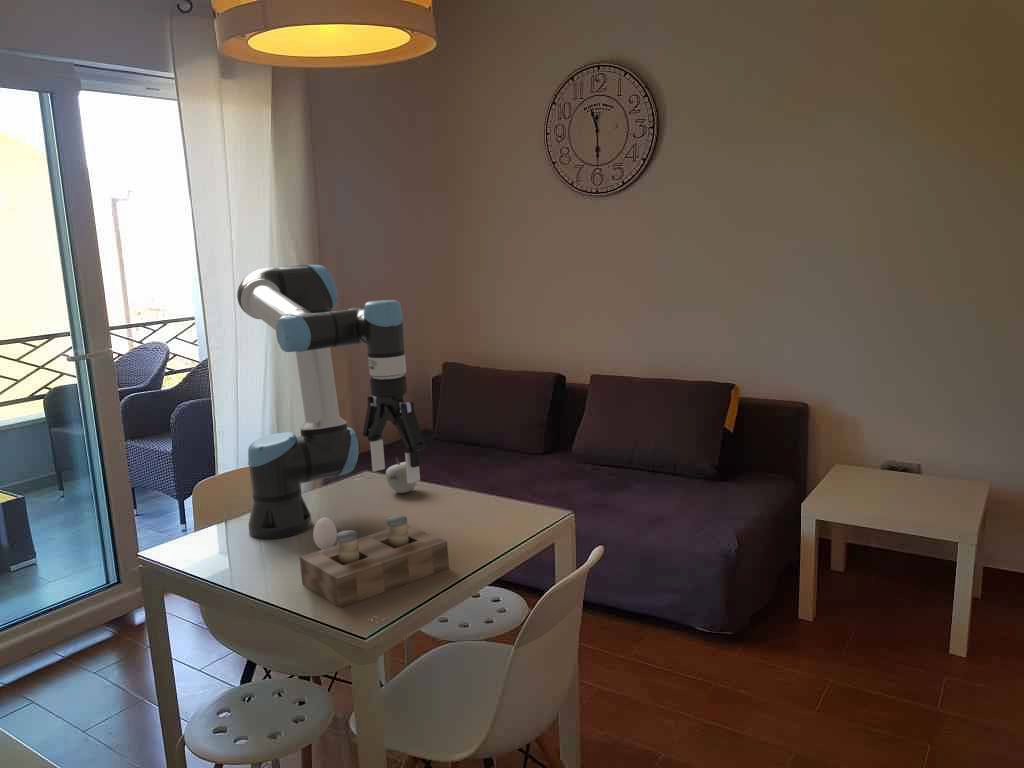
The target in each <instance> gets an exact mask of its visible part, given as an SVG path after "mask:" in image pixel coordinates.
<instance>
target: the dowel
mask: <svg viewBox="0 0 1024 768" xmlns="http://www.w3.org/2000/svg"><path fill="white" fill-rule="evenodd" d="M358 537H359V536H358V531H356V530H353V529H352V530H351V529H349V530H342V531H339V532H337V534H336V538H337V540H336V545H337V549H338V559H339V563H340V564H344V565H346V564H349V563H352V562H355V561H358V560H360V558H359V547H358V539H359V538H358Z"/></svg>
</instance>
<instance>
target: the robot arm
mask: <svg viewBox="0 0 1024 768" xmlns="http://www.w3.org/2000/svg"><path fill="white" fill-rule="evenodd" d="M236 292H237V293H236V295H237V296H236V297H237V304H238V305H239V307H240V309H241V310H242V311H243V312H244V313H245V314H246V315H248V316H249V317H250V318H253V319H255V320H261V321H263V322H264V323H266V325H268V326H269V327H271V328H272V329H273V330H274V331H275V334H276V340H277V343H278V345H279V347H280V349H281V350H282V351H283V352H286V353H295V356H296V357H295V358H296V364H297V371H298V379H299V386H300V391H301V401H302V406H303V413H304V423H303V424H302V425H301V427H300V435H299V436H296V434H295V433H294V432H291V431H284V432H276V433H271V434H269V435H265V436H262V437H260V438H257V439H256V440H254V441H253V442H252V443H251V444H250V445H249V446H248V450H247V454H248V455H247V457H248V458H247V459H248V462H247V465H248V468H249V474H250V475H249V477H250V483H251V484H250V485H251V492H252V493H251V494H252V506H251V511H250V515H249V521H248V532H249V535H250V536H251V537H254V538H257V539H265V540H266V539H269V540H270V539H280V538H286V537H291V536H295V535H298V534H300V533H303V532H305V531H307V530H309V528H311V527H312V525H313V524H312V523H313V522H312V515H311V513H310V510H309V507H307V503H306V501H305V499H304V497H303V495H302V486H301V485H302V484H305V483H310V482H314V481H315V482H316V481H319V480H323V479H327V478H333V477H334V478H338V477H339V476H342V475H347V474H350V473H351V472H352V471H353V470H354V469H355V468H356V464H357V462H358V459H359V442H358V441H359V440H358V437H357V435H356V434H357V433H356V432H355V430H354V429H353V428H351V427H348V424H347V423H348V422H347V421H346V420H345V419H344V418H342V417H341V416H340V411H339V410H340V409H339V404H338V403H339V402H338V395H337V389H336V382H335V374H334V368H333V359H332V354H331V352H332V351H331V348H338V347H346V346H355V345H362V344H363V345H364V344H365V345H366V348H367V357H368V363H367V365H368V370H369V375H370V376H371V378H370V379H369V384H370V394H371V396H370V395H369V396H367V409H366V413H365V419H364V426H363V429H362V430H363V431H362V435H363V437H364V438H365V437H367V440H368V441H369V448H370V455H371V468H372V472H377V471H382V470H385V469H386V464H385V463H386V462H385V453H384V451H385V450H384V439H383V438H384V437H383V436H382V434H383V431H384V430H385V426H386V424H387V423H388V421H389V422H391V424H392V425H393V426H395V428H396V430H397V431H398V433H399V436H400V437H401V439H402V442H403V445H404V446H405V448H406V450H405V451H404V457H405V462H406V473H407V483H413V482H416V481H417V482H420V481H421V473H420V465H421V464H420V454H419V453H420V450H424V449H426V442H425V439H424V437H423V435H422V431H421V427H420V424H419V421H418V419H417V415H416V411H415V403H414V402H413V401H407V402H405V401H404V395H406V394H407V393H408V382H407V381H408V380H407V376H406V375H405V374H406V372H407V362H406V353H405V340H404V325H403V324H404V323H403V321H404V317H403V315H402V313H403V312H402V305H401V303H400V302H399V300H396V299H382V300H381V299H380V300H372V301H370V300H369V301H367V302H365V304H364V306H358V307H357V306H356V307H351V308H349V309H342V310H334V309H336V307H337V305H338V288H337V286H336V283H335V280H334V277H333V275H332V274H331V272H330V271H329V269H328V268H326V266H324V265H322V264H298V265H289V266H288V265H287V266H275V267H274V266H273V267H271V266H270V267H269V266H268V267H263V268H259V269H256V270H254V271H252V272H251V273H248V275H246V276H245V277H244V278H243V279H242V281H241V282H240V284H239V286H238V287H237V291H236ZM332 310H333V311H332Z"/></svg>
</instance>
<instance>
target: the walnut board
mask: <svg viewBox="0 0 1024 768" xmlns="http://www.w3.org/2000/svg"><path fill="white" fill-rule="evenodd" d="M407 528H408V541H409V544H407V545H403V546H400V547H397V548H392V547H390V546H389V540H388V528H387V529H385V530H382V531H381V530H380V531H378V532H375V533H372V534H369V535H365V536H363V537H359V538H358V547H359V558H360V560H358V561H355V562H352V563H349V564H346V565H344V564H340V563H339V559H338V549H337V544H335V545H334V546H333V547H330V548H327V549H323V550H322V549H319V550H317V551H314V552H310V553H308V554H304V555H301V556H299V564H300V574H301V583H302V585H303V586H305V587H306V588H308V589H309V590H311V591H313V592H314V593H316V594H317V595H319V596H321V597H322V598H323V599H326V600H327V601H329V602H330V603H331V604H333V605H335V606H337V608H339V609H341V608H344V607H346V606H349V605H351V604H355V603H357V602H360V601H363V600H366V599H368V598H371V597H374V596H376V595H378V594H382V593H384V592H388V591H389V590H392V589H395V588H396V589H397V588H399V587H401V586H404V585H406V584H409V583H412V582H414V581H417V580H420V579H423V578H425V577H428V576H431V575H434V574H437V573H439V572H442V571H445V570H447V569H450V563H449V547H448V541H447V540H445V539H442V538H440V537H438V536H435V535H433V534H431V533H428V532H426V531H423V530H421V529H419V528H416V527H413V526H412V525H409V524H407Z"/></svg>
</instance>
